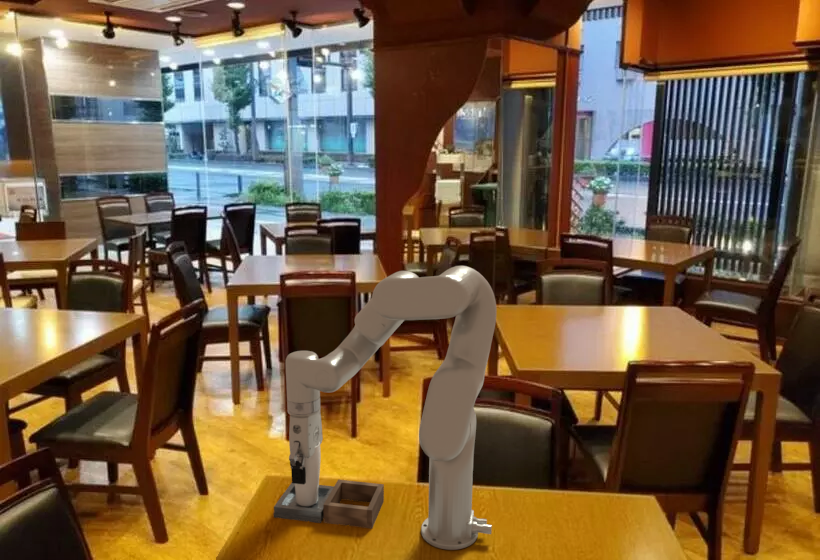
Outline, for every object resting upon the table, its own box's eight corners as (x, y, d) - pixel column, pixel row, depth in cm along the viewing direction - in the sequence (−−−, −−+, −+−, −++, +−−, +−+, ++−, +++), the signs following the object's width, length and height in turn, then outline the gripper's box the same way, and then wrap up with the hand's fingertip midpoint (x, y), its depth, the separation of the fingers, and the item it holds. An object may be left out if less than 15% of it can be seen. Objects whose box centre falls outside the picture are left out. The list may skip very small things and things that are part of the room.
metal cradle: (336, 495, 152) (336, 486, 151) (320, 523, 140) (320, 513, 140) (292, 490, 154) (292, 481, 154) (273, 517, 142) (273, 507, 142)
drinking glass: (286, 504, 146) (285, 445, 143) (304, 491, 152) (302, 434, 149) (310, 512, 143) (308, 452, 140) (327, 498, 149) (326, 440, 146)
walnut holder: (383, 501, 149) (383, 484, 149) (372, 528, 138) (372, 510, 138) (338, 496, 152) (338, 479, 151) (323, 522, 141) (323, 504, 140)
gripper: (306, 421, 133) (308, 493, 136) (331, 392, 150) (332, 457, 153) (273, 418, 134) (277, 490, 138) (301, 390, 151) (304, 454, 154)
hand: (306, 472), depth 145 cm, fingers open, 9 cm apart
